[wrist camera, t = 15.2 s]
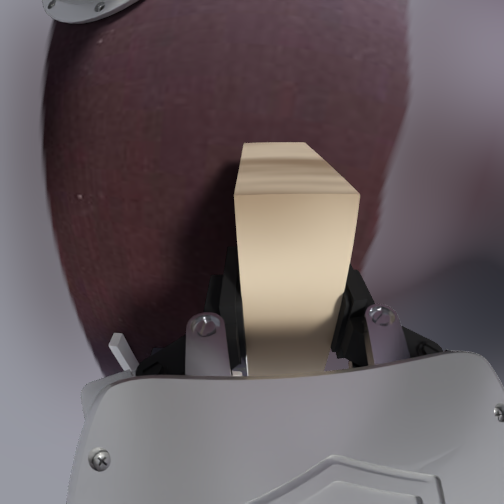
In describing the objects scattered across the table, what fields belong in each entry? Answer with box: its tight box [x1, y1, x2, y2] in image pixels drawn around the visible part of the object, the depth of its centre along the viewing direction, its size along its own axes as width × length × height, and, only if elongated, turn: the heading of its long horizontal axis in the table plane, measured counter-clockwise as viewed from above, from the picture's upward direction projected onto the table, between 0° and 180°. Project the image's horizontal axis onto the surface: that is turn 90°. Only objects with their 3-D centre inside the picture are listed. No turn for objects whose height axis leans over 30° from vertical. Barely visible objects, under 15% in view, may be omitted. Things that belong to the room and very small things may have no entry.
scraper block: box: [234, 142, 360, 376], centre depth 14 cm, size 11×4×9 cm, turn 2°
